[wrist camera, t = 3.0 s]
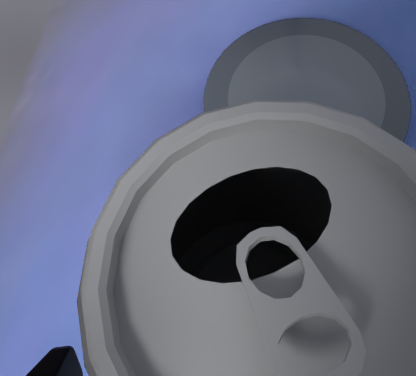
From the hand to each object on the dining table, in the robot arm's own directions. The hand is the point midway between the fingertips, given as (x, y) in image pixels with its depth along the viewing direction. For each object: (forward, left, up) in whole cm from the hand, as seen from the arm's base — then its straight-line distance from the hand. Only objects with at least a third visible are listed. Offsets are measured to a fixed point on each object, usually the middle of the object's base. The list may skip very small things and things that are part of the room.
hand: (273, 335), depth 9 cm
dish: (+6, -10, -8) cm, 14 cm away
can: (+1, -1, -9) cm, 9 cm away
